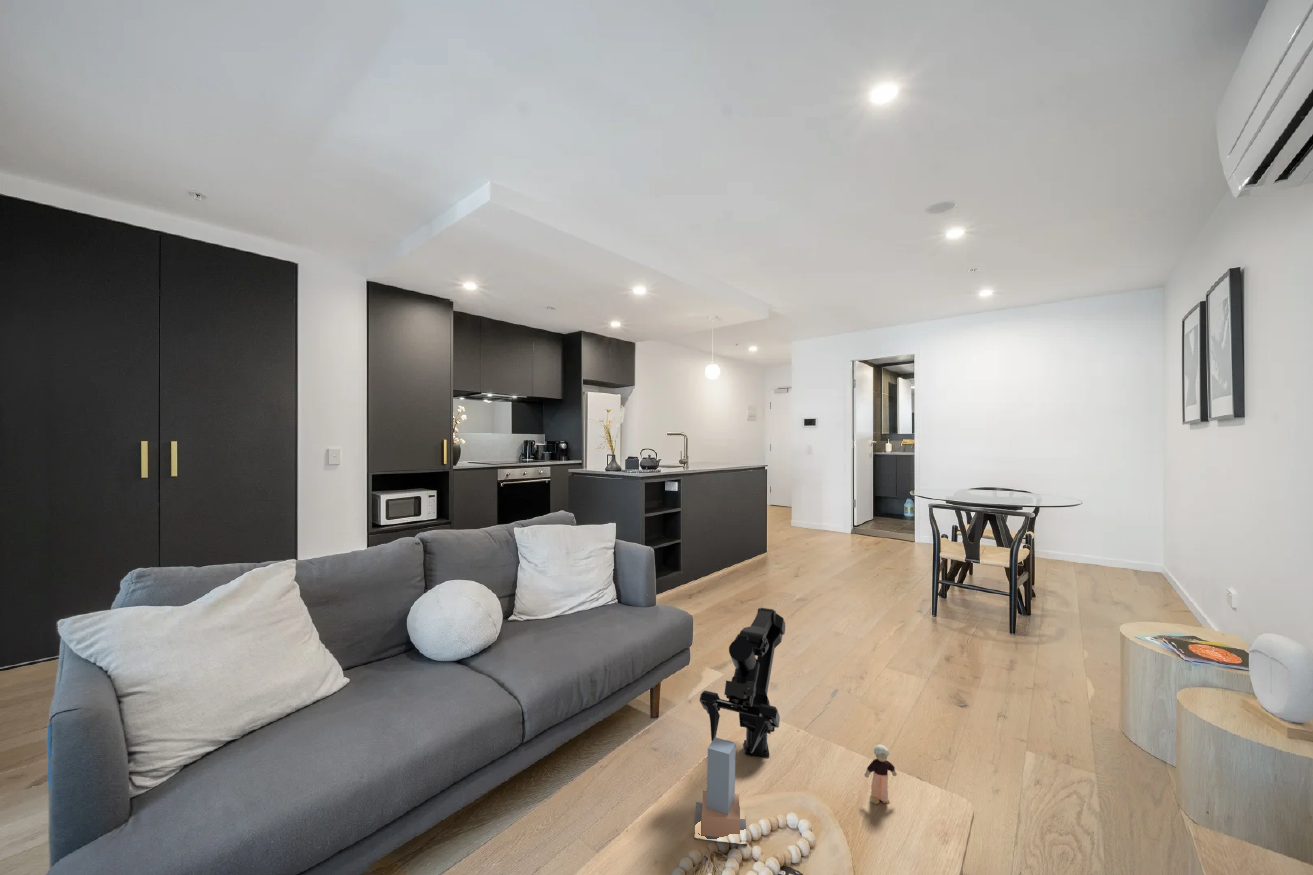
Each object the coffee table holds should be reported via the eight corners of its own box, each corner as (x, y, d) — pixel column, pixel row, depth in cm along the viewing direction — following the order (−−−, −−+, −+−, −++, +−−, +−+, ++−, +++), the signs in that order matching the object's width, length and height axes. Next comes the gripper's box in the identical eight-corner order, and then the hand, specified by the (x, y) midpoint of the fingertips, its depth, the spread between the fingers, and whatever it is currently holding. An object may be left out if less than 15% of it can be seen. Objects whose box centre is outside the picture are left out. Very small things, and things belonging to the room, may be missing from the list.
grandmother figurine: (873, 807, 116) (873, 751, 116) (862, 796, 119) (862, 742, 120) (900, 802, 118) (901, 747, 118) (889, 792, 121) (889, 738, 122)
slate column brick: (713, 794, 111) (714, 737, 112) (734, 801, 109) (735, 742, 110) (706, 807, 107) (707, 747, 108) (728, 815, 105) (729, 754, 106)
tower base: (696, 806, 115) (696, 783, 115) (744, 811, 113) (745, 789, 113) (693, 838, 105) (694, 814, 105) (747, 845, 103) (747, 820, 104)
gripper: (702, 657, 125) (685, 723, 115) (778, 672, 117) (766, 744, 107) (712, 677, 132) (696, 741, 121) (784, 692, 124) (774, 762, 113)
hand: (731, 746), depth 115 cm, fingers open, 9 cm apart
